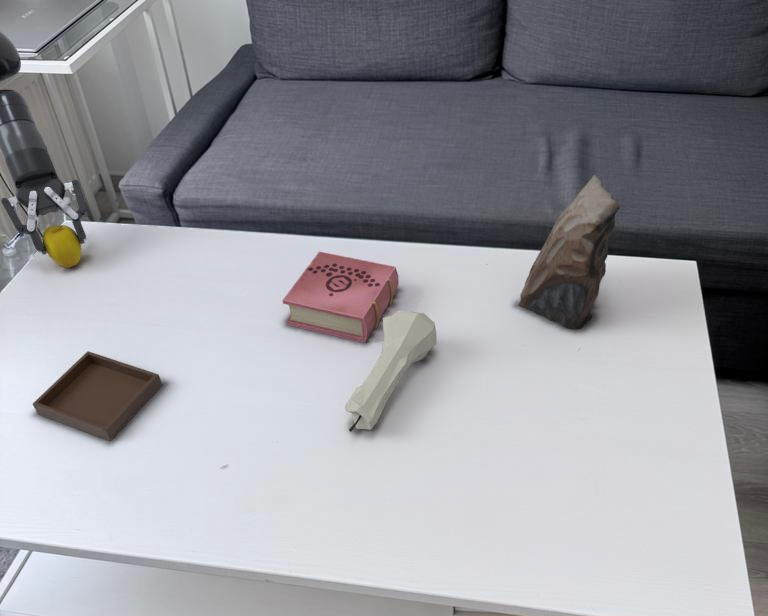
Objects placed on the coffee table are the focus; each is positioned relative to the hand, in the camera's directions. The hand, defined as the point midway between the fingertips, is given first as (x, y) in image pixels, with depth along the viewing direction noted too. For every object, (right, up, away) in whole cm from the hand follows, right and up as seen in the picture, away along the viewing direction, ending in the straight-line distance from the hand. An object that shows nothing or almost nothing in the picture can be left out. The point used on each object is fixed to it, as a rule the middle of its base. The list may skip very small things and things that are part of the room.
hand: (63, 247), depth 135 cm
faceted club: (+59, -29, -19) cm, 68 cm away
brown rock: (+88, -13, -9) cm, 89 cm away
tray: (+14, -30, -18) cm, 38 cm away
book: (+52, -13, -7) cm, 54 cm away
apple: (0, -2, +5) cm, 5 cm away
